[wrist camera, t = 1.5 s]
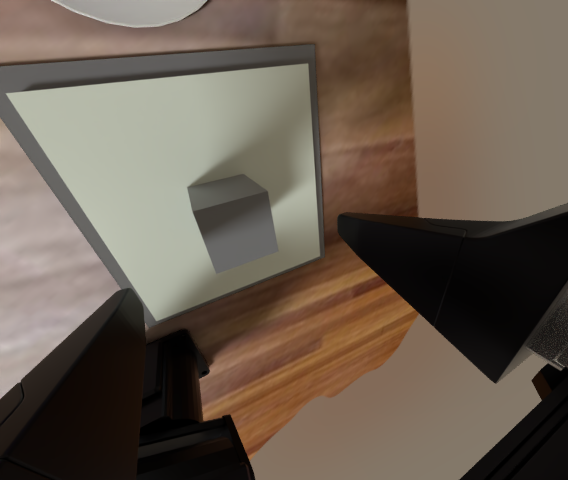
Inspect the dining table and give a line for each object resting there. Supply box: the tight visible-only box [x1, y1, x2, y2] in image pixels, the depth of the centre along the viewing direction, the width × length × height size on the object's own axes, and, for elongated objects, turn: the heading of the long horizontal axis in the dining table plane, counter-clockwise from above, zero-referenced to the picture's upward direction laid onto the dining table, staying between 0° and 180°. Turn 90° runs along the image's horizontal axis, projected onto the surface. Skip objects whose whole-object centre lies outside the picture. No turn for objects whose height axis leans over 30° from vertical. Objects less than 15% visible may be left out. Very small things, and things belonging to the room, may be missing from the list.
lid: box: [6, 63, 320, 321], centre depth 13 cm, size 14×14×5 cm
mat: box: [0, 44, 325, 328], centre depth 15 cm, size 16×16×1 cm
